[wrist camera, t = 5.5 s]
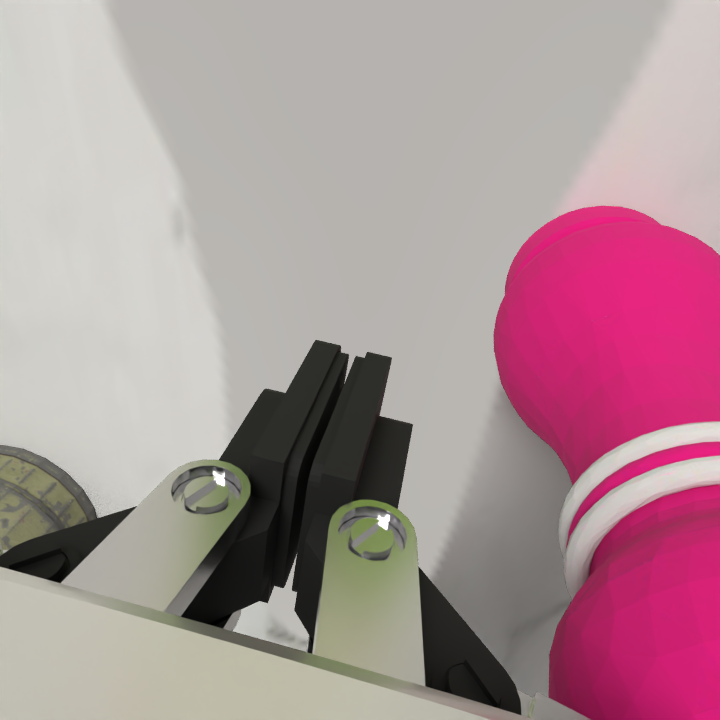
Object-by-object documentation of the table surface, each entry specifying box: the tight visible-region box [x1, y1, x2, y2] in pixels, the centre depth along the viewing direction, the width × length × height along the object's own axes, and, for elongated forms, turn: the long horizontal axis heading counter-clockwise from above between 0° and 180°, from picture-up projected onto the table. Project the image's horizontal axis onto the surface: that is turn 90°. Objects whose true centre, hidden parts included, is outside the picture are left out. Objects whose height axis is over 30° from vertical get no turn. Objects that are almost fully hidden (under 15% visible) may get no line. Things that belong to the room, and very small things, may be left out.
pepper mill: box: [494, 206, 720, 720], centre depth 13 cm, size 7×7×20 cm
